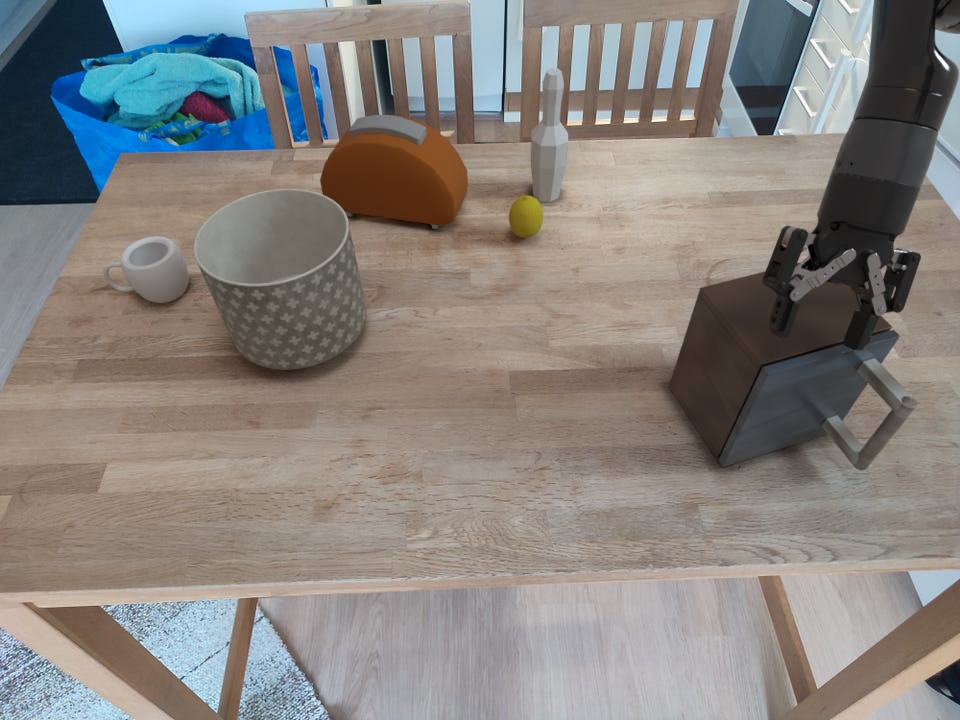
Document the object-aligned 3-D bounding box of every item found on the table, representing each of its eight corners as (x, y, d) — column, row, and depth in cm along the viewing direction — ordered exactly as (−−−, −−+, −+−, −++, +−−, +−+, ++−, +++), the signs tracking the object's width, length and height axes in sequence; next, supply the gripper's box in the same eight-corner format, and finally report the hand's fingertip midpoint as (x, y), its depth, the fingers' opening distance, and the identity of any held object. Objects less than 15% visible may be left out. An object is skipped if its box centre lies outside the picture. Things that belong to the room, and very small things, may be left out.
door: (871, 477, 78) (949, 383, 65) (754, 516, 75) (810, 426, 62) (829, 425, 83) (893, 329, 70) (717, 460, 80) (762, 366, 67)
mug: (199, 270, 105) (181, 230, 99) (191, 307, 99) (171, 267, 93) (122, 277, 104) (99, 238, 98) (109, 315, 99) (84, 276, 93)
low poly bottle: (523, 187, 118) (527, 65, 101) (556, 181, 119) (566, 59, 102) (534, 207, 114) (541, 84, 97) (569, 201, 115) (581, 78, 98)
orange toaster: (470, 203, 115) (466, 114, 102) (456, 235, 109) (451, 144, 97) (345, 186, 119) (327, 98, 107) (325, 215, 114) (304, 126, 101)
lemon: (514, 224, 111) (515, 183, 105) (545, 230, 110) (548, 189, 104) (504, 243, 108) (504, 203, 102) (536, 250, 106) (539, 210, 100)
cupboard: (827, 425, 83) (892, 326, 70) (716, 459, 80) (761, 364, 67) (772, 357, 91) (821, 256, 77) (668, 386, 88) (700, 287, 74)
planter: (221, 384, 89) (172, 285, 76) (254, 288, 102) (216, 188, 88) (361, 383, 89) (336, 284, 75) (376, 287, 101) (358, 187, 88)
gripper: (836, 164, 56) (774, 343, 61) (973, 195, 59) (903, 364, 64) (785, 160, 63) (733, 321, 68) (909, 188, 66) (851, 341, 71)
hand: (815, 342), depth 66 cm, fingers open, 8 cm apart
